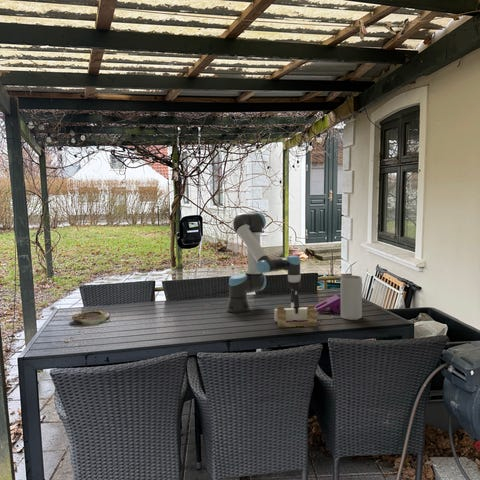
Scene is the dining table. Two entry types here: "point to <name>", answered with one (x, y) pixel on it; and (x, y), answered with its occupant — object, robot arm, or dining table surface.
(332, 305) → the mounting bracket
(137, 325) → the dining table surface
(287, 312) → the bar
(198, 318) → the dining table surface
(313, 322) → the rack
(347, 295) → the cylinder vase
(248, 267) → the robot arm
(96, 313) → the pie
